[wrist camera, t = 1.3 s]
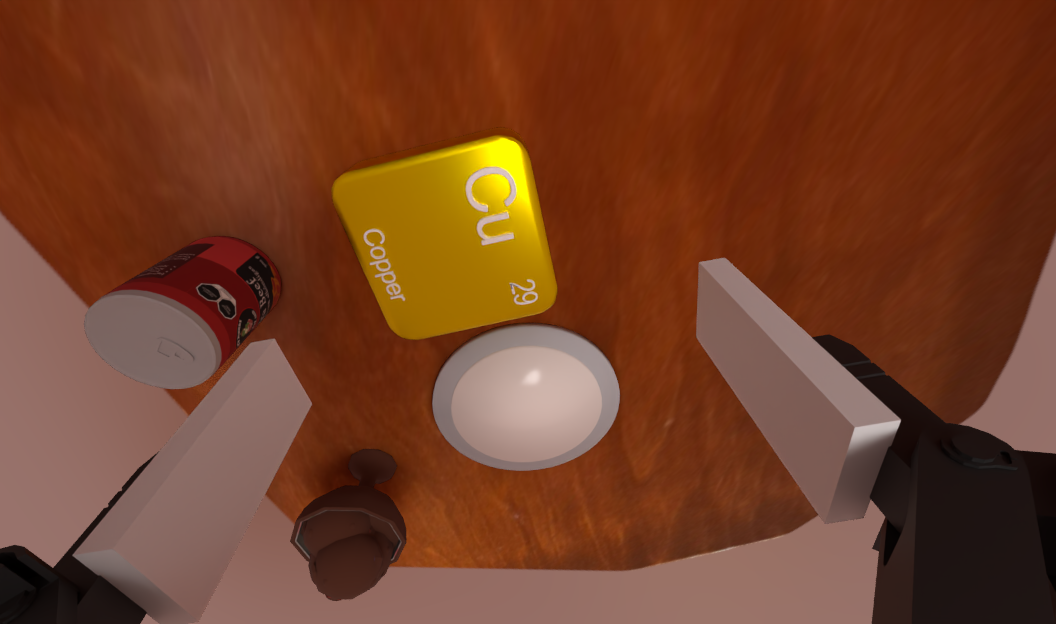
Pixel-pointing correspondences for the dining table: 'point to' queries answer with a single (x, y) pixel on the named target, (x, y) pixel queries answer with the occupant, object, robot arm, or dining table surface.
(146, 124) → the dining table surface
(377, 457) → the ice cream bowl
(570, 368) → the dish
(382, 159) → the element tile
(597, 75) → the dining table surface
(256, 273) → the canned food
